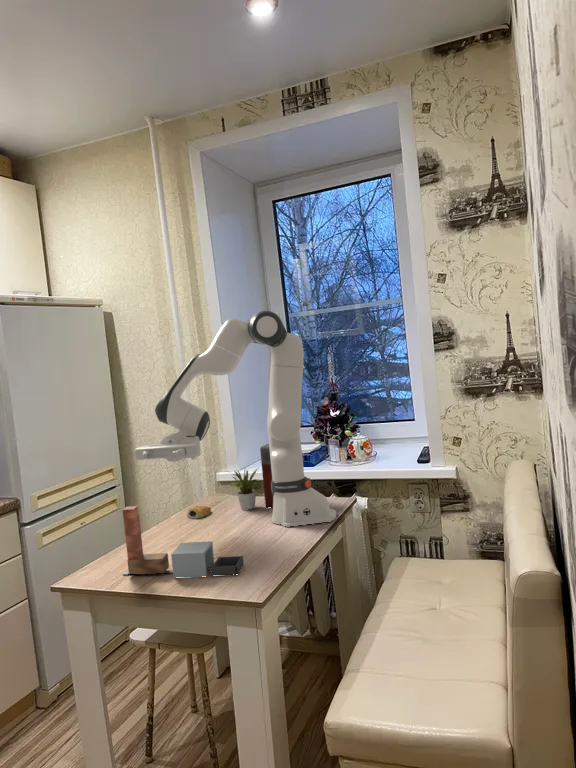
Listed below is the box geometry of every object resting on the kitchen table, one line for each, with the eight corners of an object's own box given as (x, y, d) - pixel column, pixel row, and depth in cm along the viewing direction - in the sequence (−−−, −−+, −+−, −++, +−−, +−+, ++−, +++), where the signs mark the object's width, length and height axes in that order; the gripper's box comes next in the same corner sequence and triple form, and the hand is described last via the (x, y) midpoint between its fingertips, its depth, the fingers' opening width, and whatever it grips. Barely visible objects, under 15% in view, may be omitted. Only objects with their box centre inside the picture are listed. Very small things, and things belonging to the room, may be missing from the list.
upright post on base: (169, 566, 168) (162, 503, 167) (163, 573, 164) (156, 508, 163) (134, 568, 170) (128, 505, 169) (128, 574, 165) (121, 510, 164)
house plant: (223, 515, 219) (218, 471, 218) (228, 505, 232) (224, 463, 231) (261, 512, 218) (257, 468, 217) (265, 502, 232) (261, 461, 231)
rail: (214, 569, 165) (214, 568, 165) (213, 571, 164) (213, 570, 164) (124, 573, 169) (124, 572, 168) (122, 575, 167) (122, 574, 167)
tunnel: (214, 564, 169) (212, 541, 168) (206, 577, 160) (203, 552, 160) (183, 566, 170) (181, 542, 170) (173, 578, 161) (171, 554, 161)
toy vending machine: (299, 501, 229) (292, 428, 228) (287, 509, 219) (280, 433, 217) (278, 500, 233) (271, 429, 231) (265, 508, 223) (258, 434, 221)
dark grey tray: (243, 564, 167) (243, 556, 167) (237, 575, 159) (236, 566, 159) (219, 565, 168) (218, 557, 168) (212, 576, 160) (211, 567, 160)
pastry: (202, 511, 228) (201, 501, 228) (216, 512, 225) (215, 502, 224) (185, 518, 220) (184, 508, 220) (199, 520, 217) (198, 509, 216)
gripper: (142, 440, 196) (125, 447, 182) (203, 435, 193) (190, 443, 179) (144, 459, 196) (128, 468, 182) (205, 455, 193) (193, 463, 180)
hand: (159, 455), depth 181 cm, fingers open, 8 cm apart
